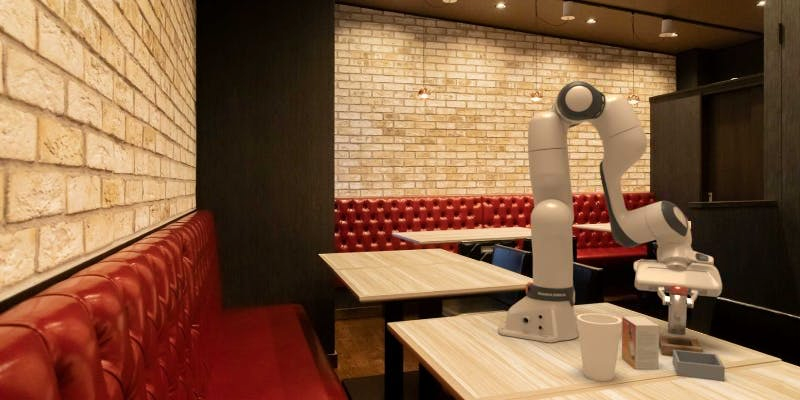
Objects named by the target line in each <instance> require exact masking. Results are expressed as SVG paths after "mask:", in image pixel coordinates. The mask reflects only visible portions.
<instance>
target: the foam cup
mask: <svg viewBox="0 0 800 400" xmlns="http://www.w3.org/2000/svg"><path fill="white" fill-rule="evenodd" d="M576 327H577V331H578V334H579V336H578V338H579V345H580V354H581V361H582V368H583V375H585V376H584V377H586V378H587V377H588V378H587V379H589V378H590V380H592V379H593V381H597V380H598V382H608V381H609V382H610V381H612V380H613V379H614V378H615V374H616V365H617V359H618V355H619V354H618V352H619V347H620V346H619V345H620V339H621V335H622V318H619V317H617V316H614V315H611V314H610V315H609V314H605V313H604V314H603V313H582V314H581V313H580V314H578V315H577V316H576Z"/></svg>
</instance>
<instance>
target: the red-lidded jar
mask: <svg viewBox="0 0 800 400" xmlns="http://www.w3.org/2000/svg"><path fill="white" fill-rule="evenodd" d="M687 290H688V287H687V286H682V285H670V293H669V296H668V297H670V304H669V305H668V317H667V319H668V320H667V321H668V323H667V333H669V334H672V335H677V336H684V335H686V332H687V328H686V327H687V310H688V309H687V308H688V307H687V298H688V294H687Z"/></svg>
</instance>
